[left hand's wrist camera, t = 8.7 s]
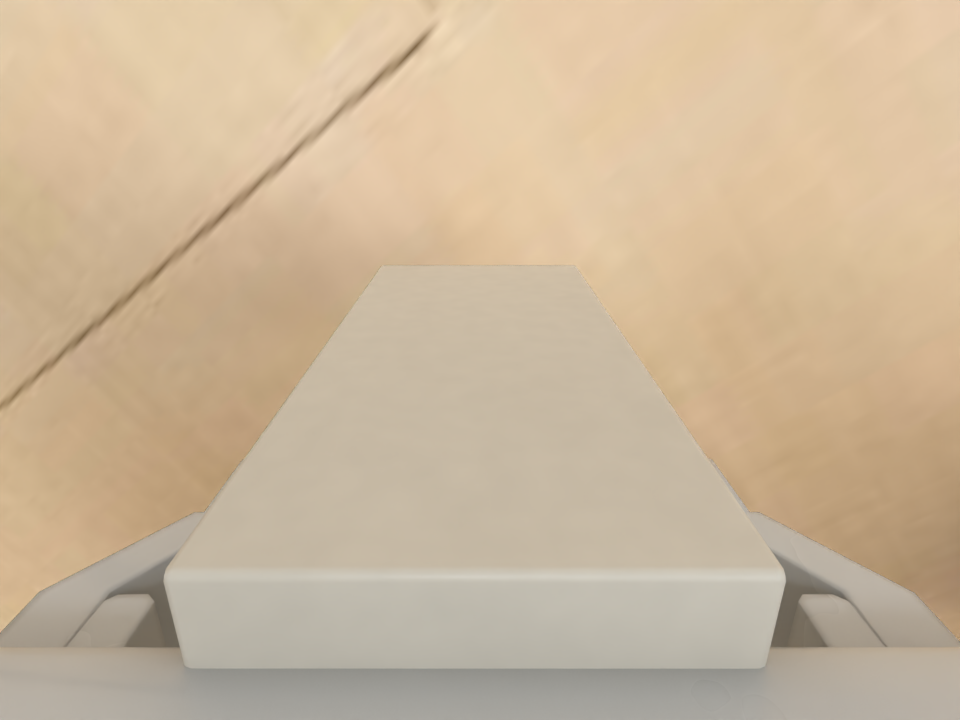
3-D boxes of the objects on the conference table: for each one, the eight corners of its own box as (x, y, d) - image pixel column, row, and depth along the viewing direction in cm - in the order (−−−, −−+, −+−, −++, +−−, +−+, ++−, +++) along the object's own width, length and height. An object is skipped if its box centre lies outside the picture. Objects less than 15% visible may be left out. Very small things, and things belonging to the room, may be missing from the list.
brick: (380, 264, 15) (156, 573, 4) (576, 264, 15) (793, 575, 4) (392, 454, 17) (254, 966, 6) (565, 454, 17) (697, 966, 6)
